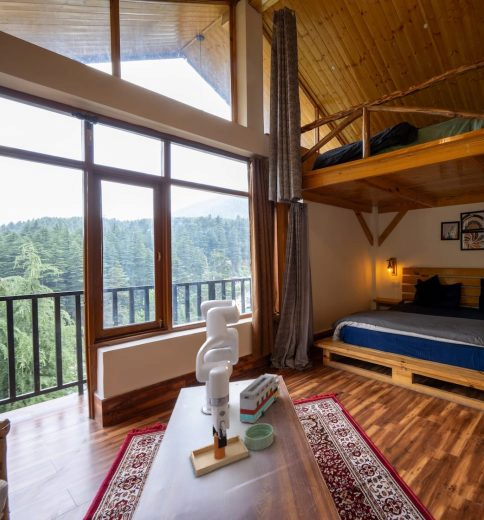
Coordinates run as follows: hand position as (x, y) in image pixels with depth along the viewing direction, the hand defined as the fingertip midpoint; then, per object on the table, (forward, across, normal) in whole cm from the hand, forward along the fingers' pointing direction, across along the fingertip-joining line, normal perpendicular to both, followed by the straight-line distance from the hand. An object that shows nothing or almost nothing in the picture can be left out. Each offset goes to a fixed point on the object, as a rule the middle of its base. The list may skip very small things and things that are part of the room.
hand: (219, 440), depth 121 cm
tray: (+7, 0, 0) cm, 7 cm away
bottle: (+6, 0, 0) cm, 6 cm away
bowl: (+7, 0, -16) cm, 18 cm away
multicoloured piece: (+7, +27, -28) cm, 39 cm away
